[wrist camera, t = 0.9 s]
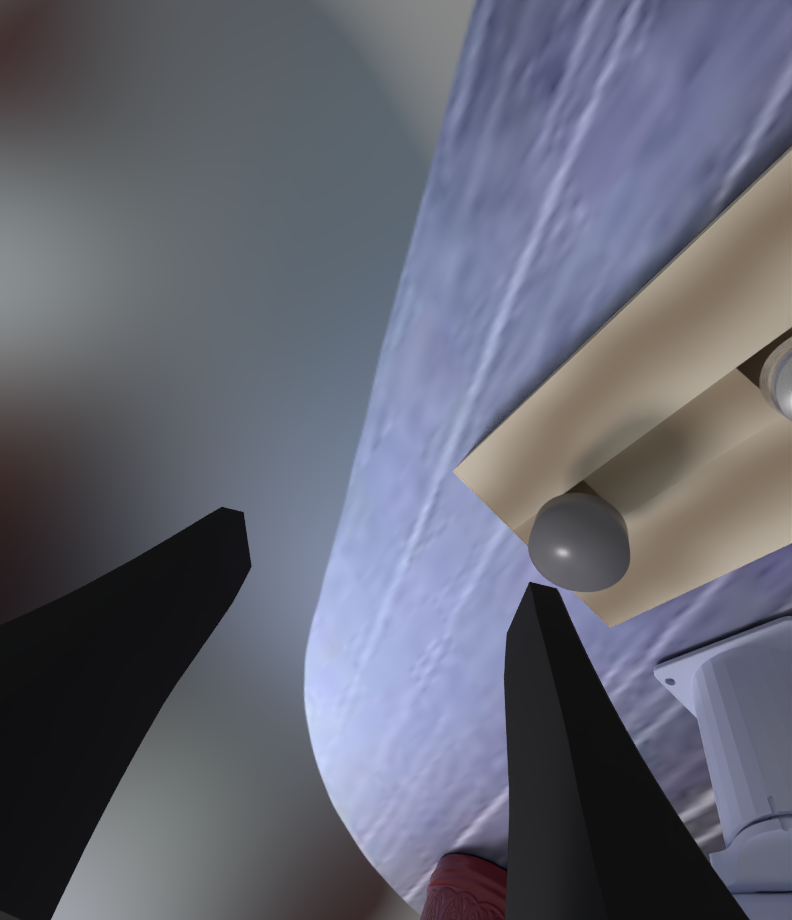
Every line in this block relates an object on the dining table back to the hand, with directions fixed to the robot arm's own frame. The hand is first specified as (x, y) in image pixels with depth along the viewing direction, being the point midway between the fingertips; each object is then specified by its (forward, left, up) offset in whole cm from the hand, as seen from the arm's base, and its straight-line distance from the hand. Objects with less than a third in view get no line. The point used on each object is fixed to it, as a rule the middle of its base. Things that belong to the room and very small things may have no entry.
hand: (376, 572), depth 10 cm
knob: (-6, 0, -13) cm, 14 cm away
